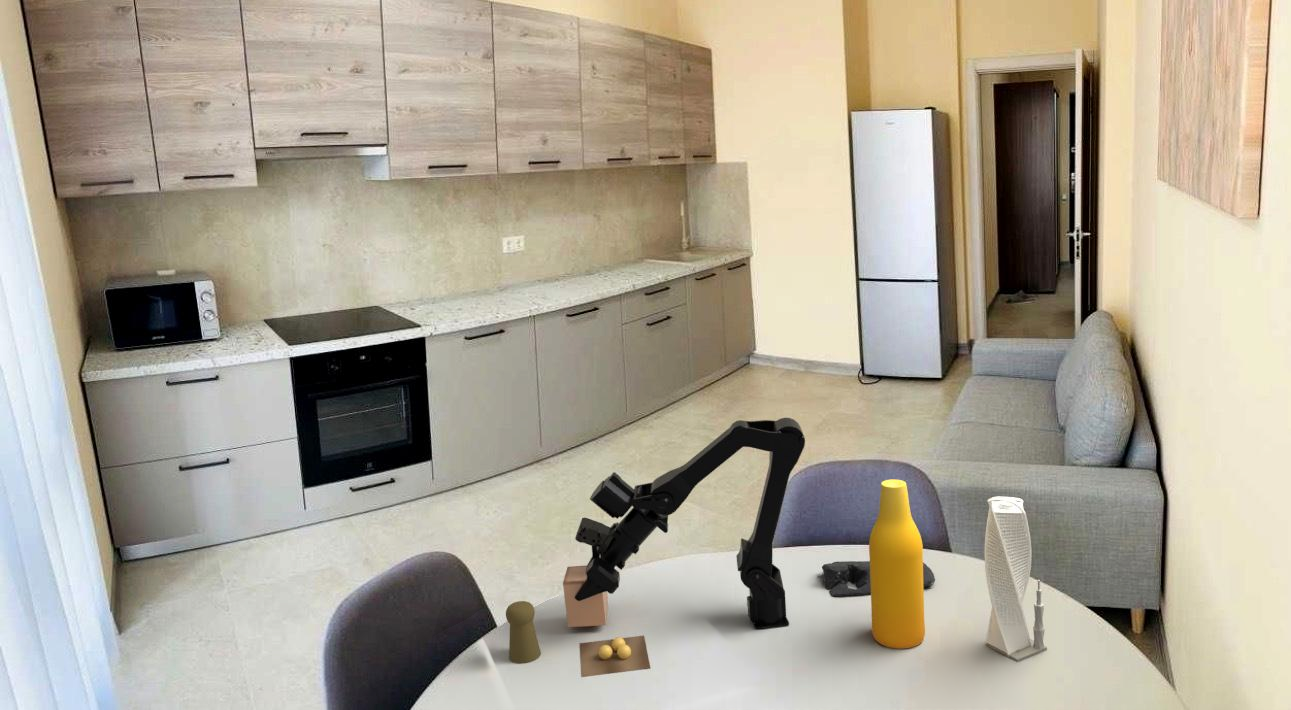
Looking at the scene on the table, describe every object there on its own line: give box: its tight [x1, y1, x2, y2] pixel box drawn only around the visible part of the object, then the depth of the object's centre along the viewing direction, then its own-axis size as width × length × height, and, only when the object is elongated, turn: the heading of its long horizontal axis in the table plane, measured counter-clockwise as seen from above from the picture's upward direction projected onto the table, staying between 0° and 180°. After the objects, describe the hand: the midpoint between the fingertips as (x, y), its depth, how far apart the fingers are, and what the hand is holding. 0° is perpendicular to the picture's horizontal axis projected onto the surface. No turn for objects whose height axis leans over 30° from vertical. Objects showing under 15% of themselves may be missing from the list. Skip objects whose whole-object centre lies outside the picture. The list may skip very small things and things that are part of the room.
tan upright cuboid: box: [562, 565, 610, 628], centre depth 183 cm, size 7×7×9 cm
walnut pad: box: [579, 635, 651, 678], centre depth 172 cm, size 12×12×1 cm
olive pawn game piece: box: [505, 600, 542, 665], centre depth 173 cm, size 6×6×11 cm
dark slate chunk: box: [821, 560, 936, 598], centre depth 195 cm, size 15×22×5 cm
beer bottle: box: [868, 479, 926, 650], centre depth 169 cm, size 9×9×29 cm
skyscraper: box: [984, 496, 1048, 663], centre depth 163 cm, size 8×8×28 cm
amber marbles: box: [599, 637, 631, 660], centre depth 171 cm, size 6×6×2 cm
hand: (578, 590), depth 183 cm, fingers closed on tan upright cuboid, 7 cm apart
